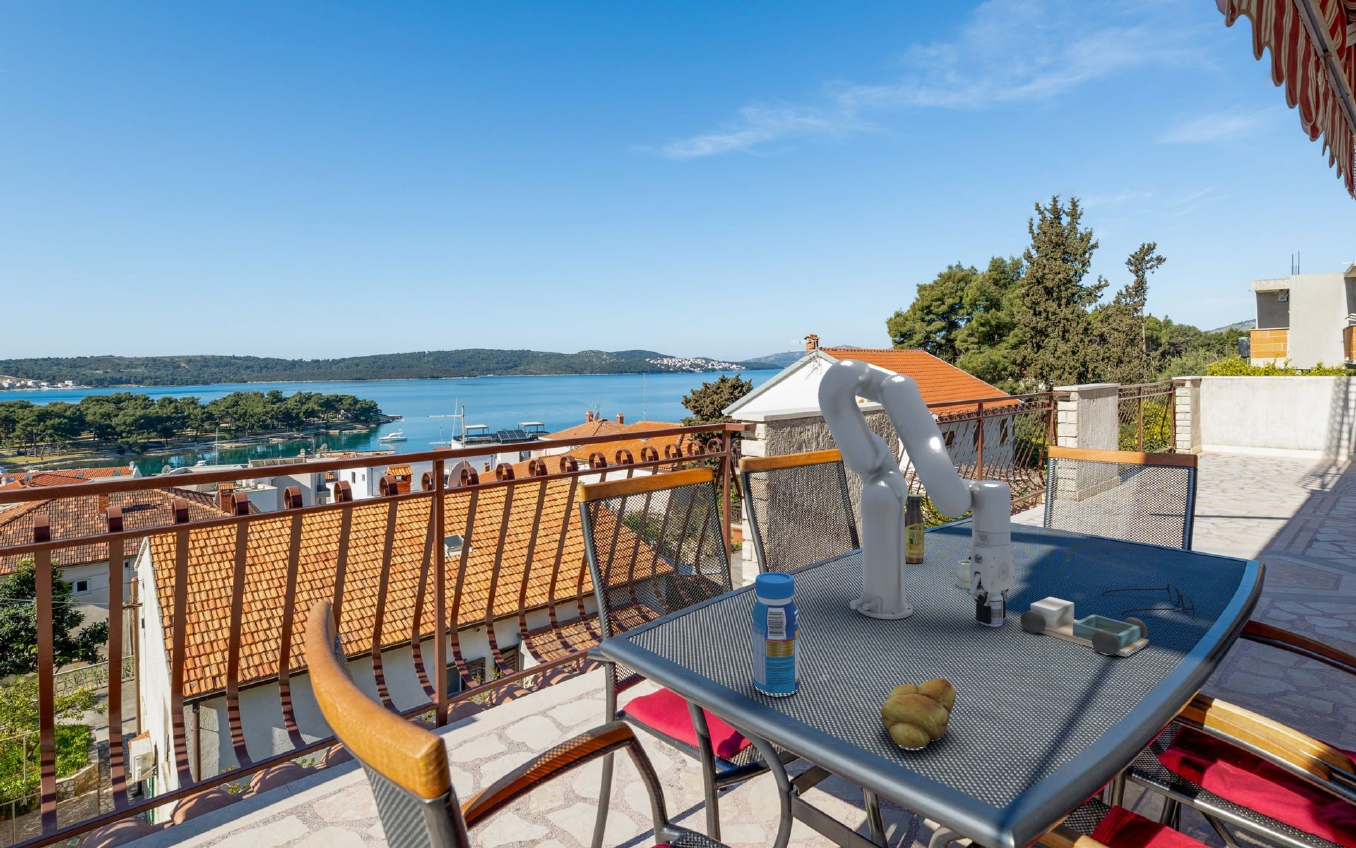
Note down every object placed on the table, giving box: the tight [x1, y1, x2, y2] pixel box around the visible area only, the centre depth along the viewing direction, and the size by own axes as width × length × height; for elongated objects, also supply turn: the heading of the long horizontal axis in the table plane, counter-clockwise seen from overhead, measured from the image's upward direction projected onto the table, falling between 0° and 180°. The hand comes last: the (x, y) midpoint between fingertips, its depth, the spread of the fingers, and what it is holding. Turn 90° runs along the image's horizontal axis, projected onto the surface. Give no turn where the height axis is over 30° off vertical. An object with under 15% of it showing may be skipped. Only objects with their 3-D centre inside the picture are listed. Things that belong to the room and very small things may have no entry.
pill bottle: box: [979, 587, 1004, 628], centre depth 141 cm, size 5×5×8 cm
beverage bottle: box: [750, 571, 801, 693], centre depth 113 cm, size 8×8×20 cm
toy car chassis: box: [1020, 596, 1150, 656], centre depth 133 cm, size 13×20×5 cm, turn 33°
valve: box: [956, 555, 971, 590], centre depth 169 cm, size 7×7×12 cm
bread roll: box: [880, 677, 957, 748], centre depth 97 cm, size 13×10×8 cm
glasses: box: [1101, 583, 1196, 617], centre depth 149 cm, size 14×15×5 cm
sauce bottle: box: [904, 493, 926, 564], centre depth 190 cm, size 6×6×20 cm
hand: (990, 618), depth 141 cm, fingers closed on pill bottle, 4 cm apart
